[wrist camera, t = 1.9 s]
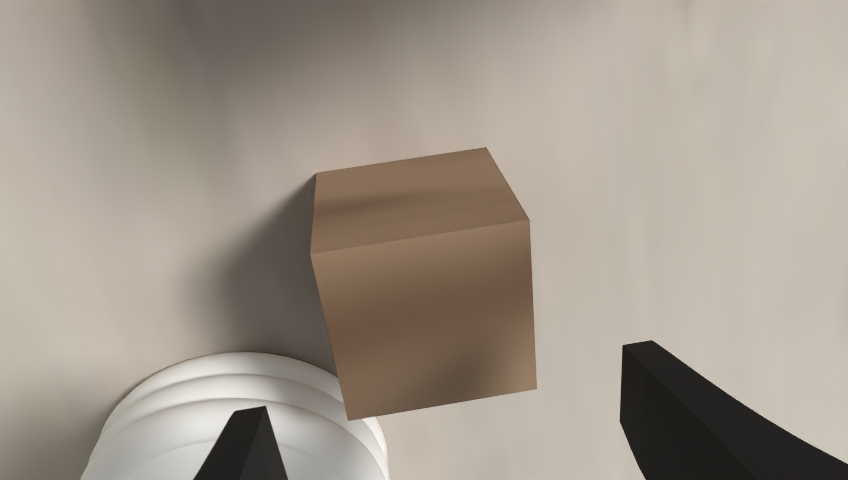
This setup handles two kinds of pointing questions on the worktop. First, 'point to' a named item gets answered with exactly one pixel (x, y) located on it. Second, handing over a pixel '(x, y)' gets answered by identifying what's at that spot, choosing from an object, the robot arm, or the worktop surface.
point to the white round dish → (211, 409)
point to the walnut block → (424, 282)
